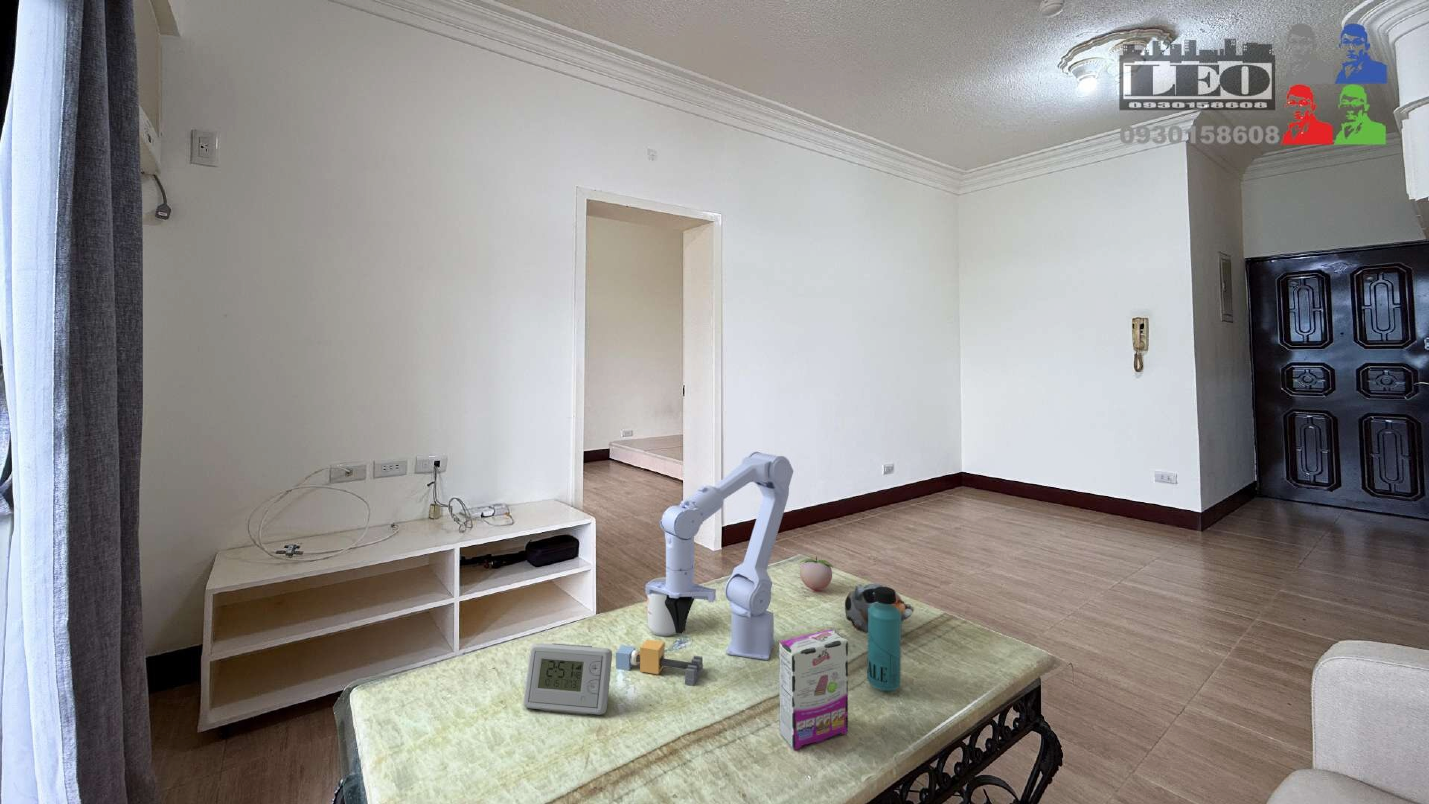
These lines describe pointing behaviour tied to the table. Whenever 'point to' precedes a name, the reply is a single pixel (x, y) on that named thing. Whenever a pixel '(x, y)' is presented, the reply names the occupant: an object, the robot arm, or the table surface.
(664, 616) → the mug
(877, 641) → the beverage bottle
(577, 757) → the table surface
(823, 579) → the decorative fruit
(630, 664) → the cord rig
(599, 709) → the digital clock
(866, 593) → the grey black rounded piece
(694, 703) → the table surface
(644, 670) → the sleeve
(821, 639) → the candy bar box
